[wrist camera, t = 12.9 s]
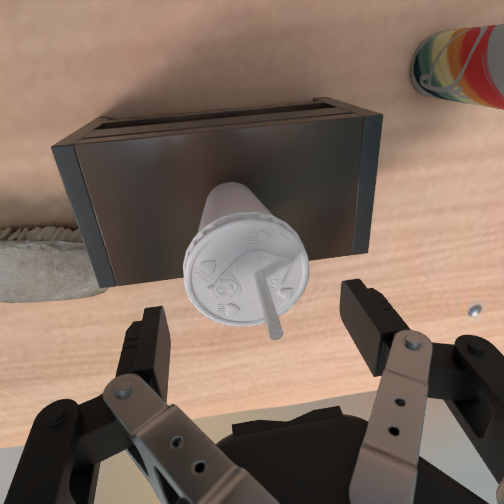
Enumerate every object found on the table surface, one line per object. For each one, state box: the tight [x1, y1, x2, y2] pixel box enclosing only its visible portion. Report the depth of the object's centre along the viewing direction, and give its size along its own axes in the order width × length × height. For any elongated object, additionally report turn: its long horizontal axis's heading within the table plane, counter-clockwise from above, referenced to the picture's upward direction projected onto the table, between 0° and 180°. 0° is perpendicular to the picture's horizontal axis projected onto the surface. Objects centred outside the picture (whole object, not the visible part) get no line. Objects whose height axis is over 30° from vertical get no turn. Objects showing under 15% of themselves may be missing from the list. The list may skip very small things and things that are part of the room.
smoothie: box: [183, 182, 309, 340], centre depth 20 cm, size 6×6×14 cm
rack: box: [51, 97, 383, 288], centre depth 31 cm, size 22×11×12 cm, turn 94°
